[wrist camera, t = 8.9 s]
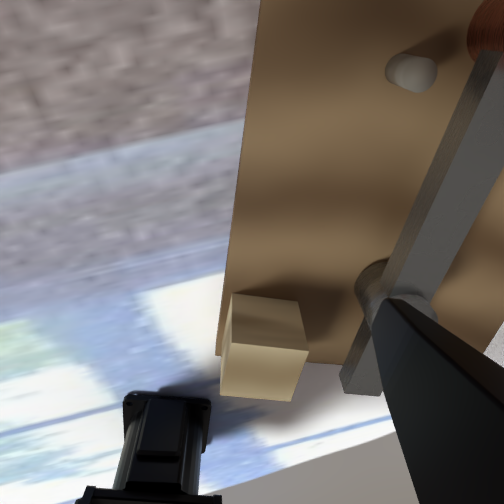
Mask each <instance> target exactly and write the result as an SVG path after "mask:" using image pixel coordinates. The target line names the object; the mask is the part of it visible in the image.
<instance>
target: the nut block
mask: <svg viewBox="0 0 504 504" xmlns="http://www.w3.org/2000/svg"><path fill="white" fill-rule="evenodd" d="M308 353H309V349H308V344H307V340H306V335H305V331H304V327H303V322H302V318H301V313H300V309H299V305H298V302H297V301H289V300H281V299H273V298H265V297H258V296H250V295H242V294H234V293H232V295H231V300H230V305H229V310H228V315H227V320H226V325H225V330H224V334H223V339H222V352H221V377H220V395H222V396H233V397H244V398H255V399H266V400H277V401H288V402H290V401H291V399H292V396H293V393H294V390H295V388H296V385H297V382H298V380H299V377H300V374H301V372H302V369H303V366H304V364H305V361H306V358H307V356H308Z"/></svg>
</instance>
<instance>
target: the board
mask: <svg viewBox="0 0 504 504" xmlns="http://www.w3.org/2000/svg"><path fill="white" fill-rule="evenodd" d="M483 1H485V0H261V2H260V9H259V17H258V25H257V32H256V40H255V47H254V55H253V63H252V70H251V78H250V86H249V93H248V101H247V109H246V116H245V124H244V132H243V139H242V147H241V155H240V162H239V170H238V178H237V185H236V193H235V201H234V208H233V216H232V224H231V231H230V239H229V247H228V254H227V262H226V270H225V277H224V285H223V292H222V300H221V308H220V315H219V323H218V331H217V338H216V351H215V356H221V352H222V339H223V334H224V330H225V325H226V320H227V315H228V310H229V305H230V300H231V295H232V293H234V294H242V295H250V296H258V297H265V298H273V299H281V300H289V301H297V302H298V305H299V309H300V313H301V318H302V322H303V327H304V331H305V335H306V340H307V344H308V349H309V353H308V356H307V358H306V361H305V362H311V363H325V364H338V365H343V364H344V361H345V359H346V357H347V355H348V352H349V350H350V348H351V345H352V343H353V341H354V339H355V336H356V334H357V332H358V329H359V327H360V325H361V323H362V320H363V318H364V314H363V312H362V309H361V307H360V305H359V303H358V300H357V298H356V296H355V293H354V285H355V282H356V279H357V278H358V276H359V275H360V274H361V273H362V272H363V271H364V270H365V269H367V268H368V267H370V266H372V265H374V264H377V263H381V262H388V261H389V259H390V256H391V254H392V252H393V249H394V247H395V245H396V242H397V240H398V238H399V236H400V233H401V231H402V229H403V226H404V224H405V222H406V220H407V217H408V215H409V213H410V210H411V208H412V206H413V204H414V201H415V199H416V197H417V194H418V192H419V190H420V188H421V185H422V183H423V181H424V178H425V176H426V174H427V172H428V169H429V167H430V165H431V162H432V160H433V158H434V156H435V153H436V151H437V149H438V146H439V144H440V142H441V140H442V137H443V135H444V133H445V130H446V128H447V126H448V124H449V121H450V119H451V117H452V114H453V112H454V110H455V108H456V105H457V103H458V101H459V98H460V96H461V94H462V92H463V89H464V87H465V85H466V82H467V80H468V78H469V76H470V73H471V71H472V69H473V66H474V64H475V62H474V61H473V60H472V59H471V57H470V55H469V53H468V50H467V43H466V38H467V31H468V27H469V24H470V21H471V19H472V17H473V15H474V14H475V12H476V10H477V9H478V7H479V6H480V5H481V4H482V3H483ZM430 305H431V307H432V308H433V309H434V311H435V312H436V314H437V316H438V324H440V325H441V326H443V327H444V328H445V329H447V330H448V331H450V332H451V333H453V334H454V335H456V336H457V337H459V338H460V339H462V340H463V341H465V342H466V343H468V344H469V345H471V346H472V347H474V348H475V349H476V350H478V351H479V352H481V353H482V354H483V353H484V351H485V350H486V348H487V347H488V345H489V343H490V342H491V340H492V339H493V337H494V336H495V334H496V333H497V331H498V329H499V328H500V326H501V325H502V323H503V322H504V167H503V169H502V171H501V173H500V174H499V176H498V178H497V180H496V182H495V184H494V186H493V187H492V189H491V191H490V193H489V195H488V197H487V198H486V200H485V202H484V204H483V206H482V208H481V210H480V211H479V213H478V215H477V217H476V219H475V221H474V222H473V224H472V226H471V228H470V230H469V232H468V234H467V235H466V237H465V239H464V241H463V243H462V245H461V247H460V248H459V250H458V252H457V254H456V256H455V258H454V259H453V261H452V263H451V265H450V267H449V269H448V271H447V272H446V274H445V276H444V278H443V280H442V282H441V284H440V285H439V287H438V289H437V291H436V293H435V295H434V296H433V298H432V300H431V302H430Z"/></svg>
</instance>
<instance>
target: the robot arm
mask: <svg viewBox="0 0 504 504" xmlns="http://www.w3.org/2000/svg"><path fill="white" fill-rule="evenodd" d="M371 335H372V340H373V345H374V349H375V354H376V359H377V364H378V369H379V374H380V379H381V383H382V387H383V392H384V395H385V398H386V402H387V405H388V408H389V411H390V414H391V417H392V420H393V423H394V426H395V429H396V433H397V435H398V439H399V442H400V445H401V448H402V451H403V454H404V457H405V460H406V463H407V467H408V469H409V473H410V476H411V479H412V482H413V485H414V488H415V491H416V494H417V497H418V501H419V503H420V504H504V368H503V367H502V366H500V365H499V364H497V363H496V362H494V361H493V360H491V359H490V358H488V357H487V356H485V355H484V354H482V353H481V352H479V351H478V350H476V349H475V348H474V347H472V346H471V345H469V344H468V343H466V342H465V341H463V340H462V339H460V338H459V337H457V336H456V335H454V334H453V333H451V332H450V331H448V330H447V329H445V328H444V327H443V326H441V325H440V324H438V323H437V322H435V321H434V320H432V319H431V318H429V317H428V316H426V315H425V314H423V313H422V312H420V311H419V310H417V309H416V308H414V307H413V306H412V305H410V304H409V303H407V302H406V301H404V300H402V299H396V298H385V299H384V300H383V301H382V302H381V304H380V307H379V309H378V311H377V314H376V316H375V318H374V321H373V323H372V327H371ZM210 413H211V402H210V401H209V400H206V399H192V398H175V397H158V396H142V395H127V396H125V397H124V400H123V422H124V446H123V449H122V453H121V457H120V461H119V465H118V468H117V472H116V476H115V480H114V484H113V488H112V489H105V488H96V486H87V487H86V489H85V492H84V495H83V497H82V498H80V499H78V500H76V502H75V504H222V496H221V495H213V496H204V495H198V488H199V475H200V462H201V454H202V453H204V452H205V449H206V442H207V435H208V427H209V420H210Z"/></svg>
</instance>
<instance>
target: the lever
mask: <svg viewBox="0 0 504 504" xmlns="http://www.w3.org/2000/svg"><path fill="white" fill-rule="evenodd" d="M466 43H467V50H468V53H469V55H470V57H471V59H472V60H473V61H474V62H475V64H474V66H473V69H472V71H471V73H470V76H469V78H468V80H467V82H466V85H465V87H464V89H463V92H462V94H461V96H460V98H459V101H458V103H457V105H456V108H455V110H454V112H453V114H452V117H451V119H450V121H449V124H448V126H447V128H446V130H445V133H444V135H443V137H442V140H441V142H440V144H439V146H438V149H437V151H436V153H435V156H434V158H433V160H432V162H431V165H430V167H429V169H428V172H427V174H426V176H425V178H424V181H423V183H422V185H421V188H420V190H419V192H418V194H417V197H416V199H415V201H414V204H413V206H412V208H411V210H410V213H409V215H408V217H407V220H406V222H405V224H404V226H403V229H402V231H401V233H400V236H399V238H398V240H397V242H396V245H395V247H394V249H393V252H392V254H391V256H390V259H389V261H388V262H381V263H377V264H374V265H372V266H370V267H368V268H367V269H365V270H364V271H363V272H362V273H361V274H360V275H359V276H358V278H357V279H356V282H355V285H354V293H355V296H356V298H357V300H358V303H359V305H360V307H361V309H362V312H363V314H364V318H363V320H362V323H361V325H360V327H359V329H358V332H357V334H356V336H355V339H354V341H353V343H352V345H351V348H350V350H349V352H348V355H347V357H346V359H345V361H344V364H343V366H342V368H341V371H340V373H339V377H340V380H341V383H342V387H343V390H344V393H347V394H358V395H369V396H380V395H381V393H382V391H383V387H382V383H381V379H380V374H379V369H378V364H377V359H376V354H375V349H374V345H373V340H372V335H371V327H372V323H373V321H374V318H375V316H376V314H377V311H378V309H379V307H380V304H381V302H382V301H383V300H384V299H385V298H396V299H402V300H404V301H406V302H407V303H409V304H410V305H412V306H413V307H414V308H416V309H417V310H419V311H420V312H422V313H423V314H425V315H426V316H428V317H429V318H431V319H432V320H434V321H435V322H437V323H438V316H437V314H436V312H435V311H434V309H433V308H432V307H431V305H430V302H431V300H432V298H433V296H434V295H435V293H436V291H437V289H438V287H439V285H440V284H441V282H442V280H443V278H444V276H445V274H446V272H447V271H448V269H449V267H450V265H451V263H452V261H453V259H454V258H455V256H456V254H457V252H458V250H459V248H460V247H461V245H462V243H463V241H464V239H465V237H466V235H467V234H468V232H469V230H470V228H471V226H472V224H473V222H474V221H475V219H476V217H477V215H478V213H479V211H480V210H481V208H482V206H483V204H484V202H485V200H486V198H487V197H488V195H489V193H490V191H491V189H492V187H493V186H494V184H495V182H496V180H497V178H498V176H499V174H500V173H501V171H502V169H503V167H504V0H485V1H483V3H482V4H481V5H480V6H479V7H478V9H477V10H476V12H475V14H474V15H473V17H472V19H471V21H470V24H469V27H468V31H467V38H466Z"/></svg>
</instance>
